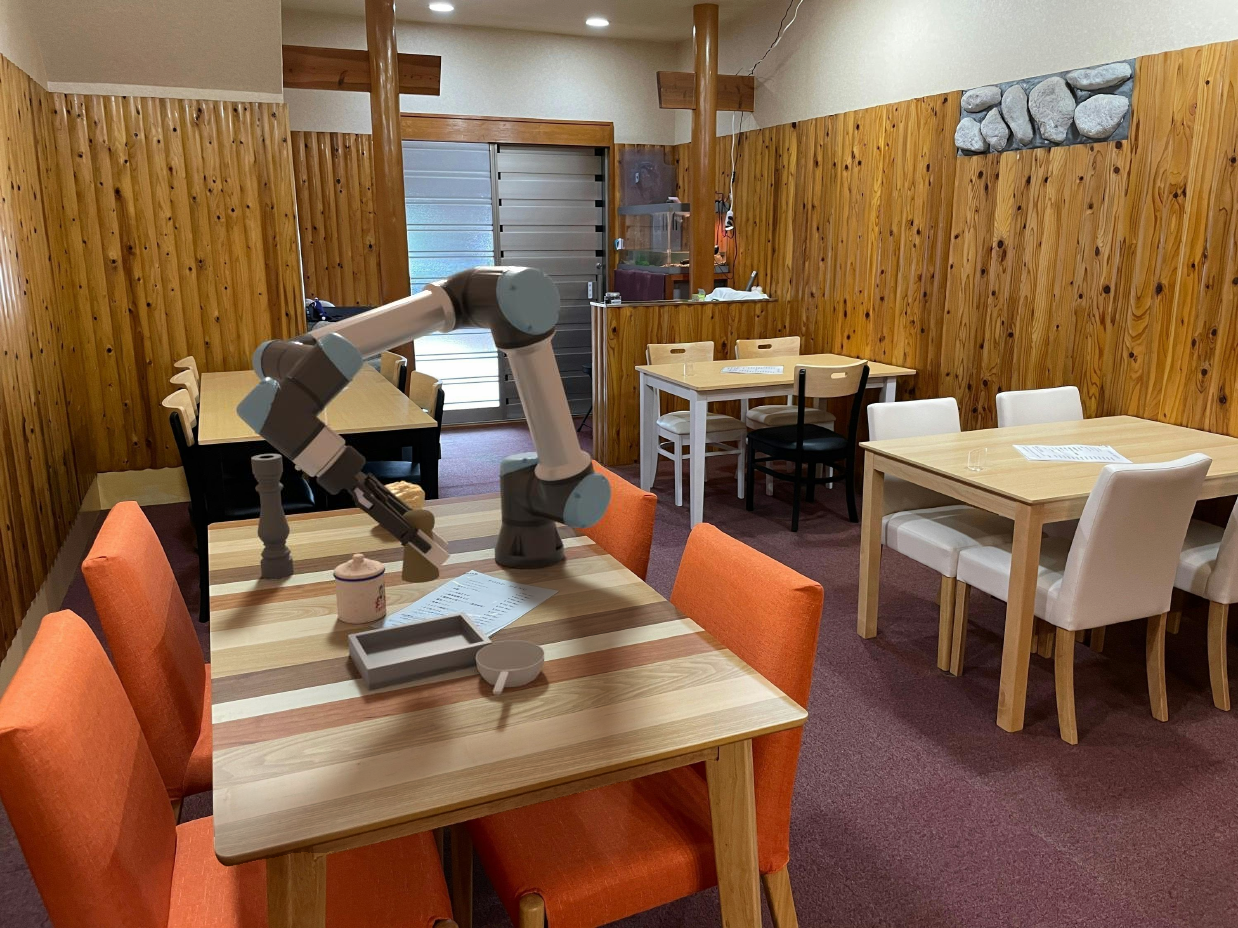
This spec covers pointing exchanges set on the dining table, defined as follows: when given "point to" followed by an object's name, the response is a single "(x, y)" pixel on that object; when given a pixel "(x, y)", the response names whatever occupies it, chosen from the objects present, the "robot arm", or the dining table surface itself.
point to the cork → (413, 561)
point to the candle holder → (272, 517)
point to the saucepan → (510, 663)
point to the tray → (416, 649)
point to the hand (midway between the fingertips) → (443, 555)
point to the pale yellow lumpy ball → (408, 494)
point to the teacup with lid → (360, 590)
